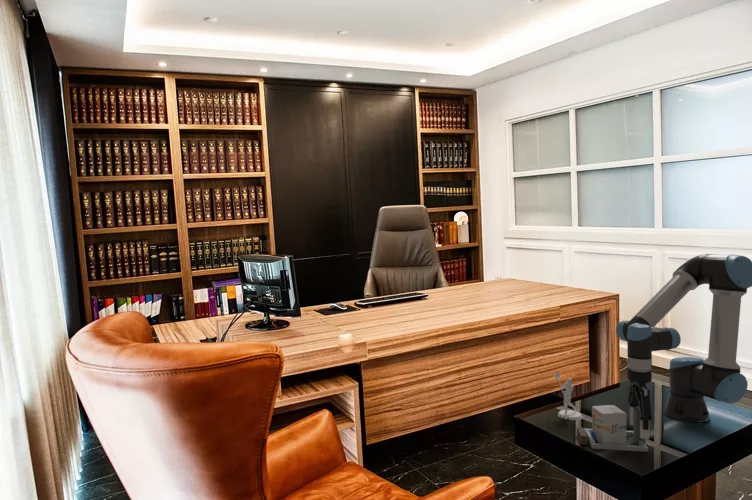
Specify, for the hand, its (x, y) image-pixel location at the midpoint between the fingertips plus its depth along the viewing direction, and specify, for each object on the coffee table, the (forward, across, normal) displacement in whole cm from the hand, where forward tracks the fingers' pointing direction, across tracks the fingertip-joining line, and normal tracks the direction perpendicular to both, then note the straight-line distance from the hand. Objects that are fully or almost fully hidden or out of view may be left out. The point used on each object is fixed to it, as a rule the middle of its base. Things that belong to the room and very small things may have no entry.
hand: (639, 431), depth 179 cm
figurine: (+4, -24, -19) cm, 31 cm away
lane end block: (+4, 0, -19) cm, 19 cm away
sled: (+4, 0, -8) cm, 9 cm away
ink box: (+4, 0, -10) cm, 11 cm away
